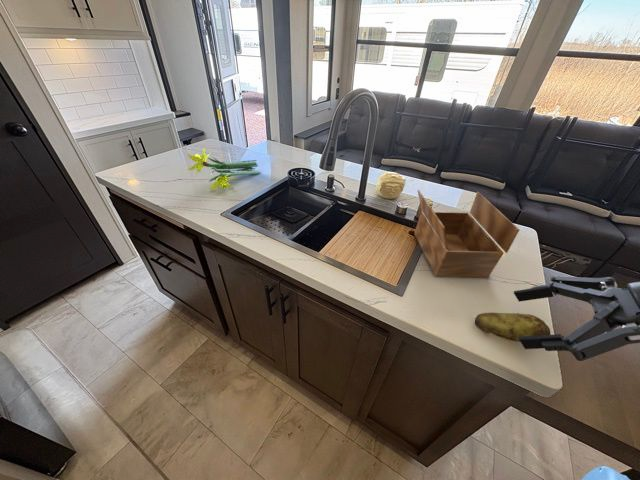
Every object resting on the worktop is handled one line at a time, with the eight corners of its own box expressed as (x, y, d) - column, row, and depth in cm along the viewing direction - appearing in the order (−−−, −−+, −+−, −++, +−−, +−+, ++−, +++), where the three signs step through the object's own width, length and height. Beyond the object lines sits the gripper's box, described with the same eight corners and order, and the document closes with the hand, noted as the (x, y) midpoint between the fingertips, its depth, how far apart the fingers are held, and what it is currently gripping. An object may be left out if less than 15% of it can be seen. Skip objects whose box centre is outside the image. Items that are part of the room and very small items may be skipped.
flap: (445, 227, 64) (443, 228, 64) (448, 249, 69) (446, 249, 69) (418, 189, 81) (417, 190, 81) (422, 209, 85) (421, 209, 85)
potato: (479, 308, 66) (493, 288, 61) (537, 340, 59) (558, 320, 54) (468, 329, 61) (483, 308, 56) (530, 366, 54) (553, 347, 49)
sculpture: (376, 201, 110) (381, 177, 103) (373, 188, 119) (377, 166, 112) (403, 202, 109) (409, 179, 103) (397, 189, 119) (403, 167, 112)
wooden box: (491, 277, 75) (522, 229, 65) (435, 276, 75) (457, 228, 64) (460, 234, 92) (480, 191, 81) (414, 233, 91) (428, 190, 81)
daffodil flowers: (271, 179, 125) (213, 186, 96) (251, 188, 133) (191, 197, 104) (259, 145, 123) (195, 142, 93) (240, 156, 130) (175, 157, 101)
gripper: (731, 388, 33) (533, 381, 48) (646, 271, 51) (521, 292, 65) (713, 349, 32) (515, 354, 46) (632, 242, 50) (507, 270, 64)
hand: (518, 317), depth 56 cm, fingers open, 13 cm apart
